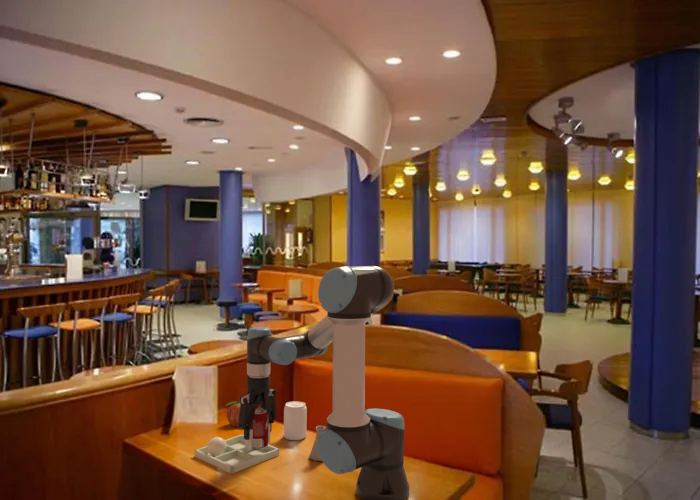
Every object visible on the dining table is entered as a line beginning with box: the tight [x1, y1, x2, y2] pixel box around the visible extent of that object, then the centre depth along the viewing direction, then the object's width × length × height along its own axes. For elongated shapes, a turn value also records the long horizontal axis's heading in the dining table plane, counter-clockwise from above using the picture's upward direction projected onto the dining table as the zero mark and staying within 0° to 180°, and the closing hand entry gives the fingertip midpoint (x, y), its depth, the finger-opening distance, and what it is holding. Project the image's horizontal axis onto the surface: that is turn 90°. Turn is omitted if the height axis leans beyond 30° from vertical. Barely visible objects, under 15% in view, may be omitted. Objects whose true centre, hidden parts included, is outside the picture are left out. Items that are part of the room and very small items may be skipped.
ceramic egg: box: [206, 436, 226, 457], centre depth 179 cm, size 6×6×6 cm
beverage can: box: [283, 400, 308, 441], centre depth 199 cm, size 8×8×12 cm
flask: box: [308, 425, 327, 462], centre depth 182 cm, size 7×7×10 cm
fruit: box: [224, 398, 240, 427], centre depth 211 cm, size 9×10×10 cm
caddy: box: [194, 434, 280, 475], centre depth 179 cm, size 19×19×3 cm
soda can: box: [251, 407, 269, 450], centre depth 180 cm, size 7×7×12 cm
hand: (257, 445), depth 180 cm, fingers closed on soda can, 7 cm apart
